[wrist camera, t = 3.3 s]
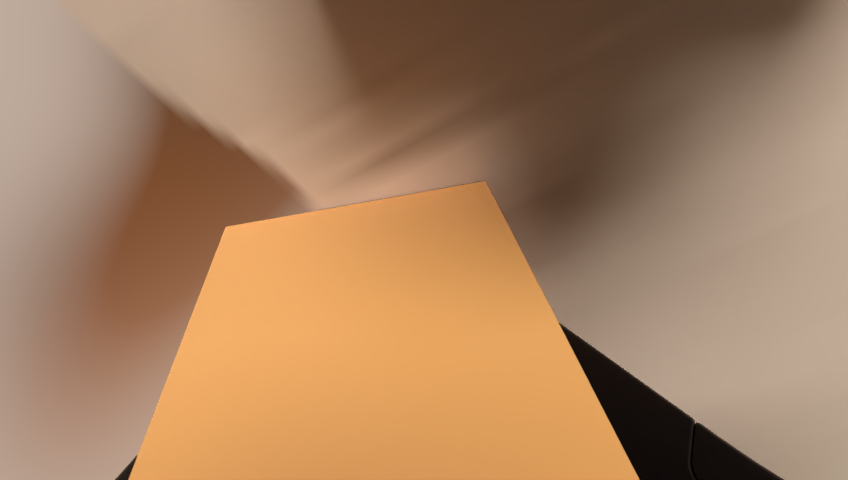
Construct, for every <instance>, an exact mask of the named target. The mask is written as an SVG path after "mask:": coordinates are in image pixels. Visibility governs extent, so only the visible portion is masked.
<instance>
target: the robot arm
mask: <svg viewBox="0 0 848 480" xmlns="http://www.w3.org/2000/svg"><path fill="white" fill-rule="evenodd" d="M558 323H559V322H558ZM559 325H560V327H561V328H562V330H563V332H564V334H565V336H566V338H567V340H568V342H569V344H570V346H571V348H572V350H573V352H574V354H575V356H576V358H577V359H578V361H579V363H580V365H581V367H582V369H583V371H584V373H585V375H586V377H587V379H588V381H589V383H590V385H591V387H592V389H593V391H594V392H595V394H596V396H597V398H598V400H599V402H600V404H601V406H602V408H603V410H604V412H605V414H606V416H607V418H608V420H609V422H610V423H611V425H612V427H613V429H614V431H615V433H616V435H617V437H618V439H619V441H620V443H621V445H622V447H623V449H624V451H625V453H626V455H627V456H628V458H629V460H630V462H631V464H632V466H633V468H634V470H635V472H636V474H637V476H638V478H639V480H784V479H782V478H781V477H779V476H777V475H776V474H774V473H773V472H771V471H769V470H768V469H766V468H765V467H763V466H761V465H760V464H758V463H757V462H755V461H754V460H752V459H751V458H749V457H748V456H746V455H745V454H743V453H742V452H740V451H739V450H737V449H736V448H734V447H733V446H732V445H730V444H729V443H727V442H726V441H724V440H723V439H721V438H720V437H718V436H717V435H716V434H714V433H713V432H711V431H710V430H709V429H707V428H706V427H704V426H703V425H702V424H700V423H696V424H695V421H694V419H693V418H692V417H690V416H689V415H687V414H686V413H685V412H683V411H682V410H680V409H679V408H678V407H676V406H675V405H673V404H672V403H671V402H669V401H668V400H666V399H665V398H664V397H662V396H661V395H659V394H658V393H657V392H655V391H654V390H652V389H651V388H650V387H648V386H647V385H645V384H644V383H643V382H641V381H640V380H638V379H637V378H636V377H634V376H633V375H631V374H630V373H629V372H627V371H626V370H624V369H623V368H622V367H620V366H619V365H617V364H616V363H615V362H613V361H612V360H610V359H609V358H608V357H606V356H605V355H603V354H602V353H601V352H599V351H598V350H596V349H595V348H594V347H592V346H591V345H589V344H588V343H587V342H585V341H584V340H582V339H581V338H580V337H578V336H577V335H575V334H574V333H573V332H571V331H570V330H568V329H567V328H566V327H564V326H563V325H562V324H560V323H559ZM137 456H138V455H137ZM137 456H136V457H135V458H134V459H133V460H132V461H131V463H130V464H129V465H128V466H127V467H126V468H125V469H124V470H123V472H122V473H121V474H120V475H119V476H118V477H117V478H116V479H115V480H128V479H129V477H130V474H131V472H132V469H133V466H134V464H135V461H136V459H137Z"/></svg>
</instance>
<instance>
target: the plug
mask: <svg viewBox="0 0 848 480" xmlns="http://www.w3.org/2000/svg"><path fill="white" fill-rule="evenodd" d="M128 480H639V478H638V476H637V474H636V472H635V470H634V468H633V466H632V464H631V462H630V460H629V458H628V456H627V455H626V453H625V451H624V449H623V447H622V445H621V443H620V441H619V439H618V437H617V435H616V433H615V431H614V429H613V427H612V425H611V423H610V422H609V420H608V418H607V416H606V414H605V412H604V410H603V408H602V406H601V404H600V402H599V400H598V398H597V396H596V394H595V392H594V391H593V389H592V387H591V385H590V383H589V381H588V379H587V377H586V375H585V373H584V371H583V369H582V367H581V365H580V363H579V361H578V359H577V358H576V356H575V354H574V352H573V350H572V348H571V346H570V344H569V342H568V340H567V338H566V336H565V334H564V332H563V330H562V328H561V327H560V325H559V323H558V321H557V319H556V317H555V315H554V313H553V311H552V309H551V307H550V305H549V303H548V301H547V299H546V297H545V295H544V294H543V292H542V290H541V288H540V286H539V284H538V282H537V280H536V278H535V276H534V274H533V272H532V270H531V268H530V266H529V264H528V262H527V261H526V259H525V257H524V255H523V253H522V251H521V249H520V247H519V245H518V243H517V241H516V239H515V237H514V235H513V233H512V231H511V230H510V228H509V226H508V224H507V222H506V220H505V218H504V216H503V214H502V212H501V210H500V208H499V206H498V204H497V202H496V200H495V198H494V197H493V195H492V193H491V191H490V189H489V187H488V185H487V183H486V181H482V182H476V183H471V184H465V185H459V186H454V187H448V188H442V189H437V190H431V191H426V192H420V193H414V194H409V195H403V196H397V197H392V198H386V199H380V200H375V201H369V202H363V203H358V204H352V205H347V206H341V207H335V208H330V209H324V210H318V211H313V212H307V213H301V214H296V215H290V216H285V217H279V218H274V219H268V220H262V221H256V222H251V223H246V224H239V225H234V226H228V227H226V228H225V230H224V233H223V235H222V238H221V241H220V243H219V246H218V248H217V251H216V253H215V256H214V259H213V261H212V264H211V266H210V269H209V272H208V274H207V277H206V279H205V282H204V285H203V287H202V290H201V293H200V295H199V298H198V300H197V303H196V305H195V308H194V311H193V313H192V316H191V319H190V321H189V324H188V326H187V329H186V331H185V334H184V337H183V339H182V342H181V344H180V347H179V350H178V352H177V355H176V358H175V360H174V362H173V365H172V368H171V370H170V373H169V375H168V378H167V381H166V383H165V386H164V388H163V391H162V394H161V396H160V399H159V401H158V404H157V407H156V409H155V412H154V414H153V417H152V420H151V422H150V425H149V427H148V430H147V433H146V435H145V438H144V440H143V443H142V446H141V448H140V451H139V454H138V456H137V459H136V461H135V464H134V466H133V469H132V472H131V474H130V477H129V479H128Z"/></svg>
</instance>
